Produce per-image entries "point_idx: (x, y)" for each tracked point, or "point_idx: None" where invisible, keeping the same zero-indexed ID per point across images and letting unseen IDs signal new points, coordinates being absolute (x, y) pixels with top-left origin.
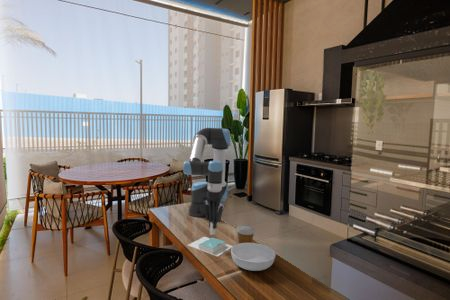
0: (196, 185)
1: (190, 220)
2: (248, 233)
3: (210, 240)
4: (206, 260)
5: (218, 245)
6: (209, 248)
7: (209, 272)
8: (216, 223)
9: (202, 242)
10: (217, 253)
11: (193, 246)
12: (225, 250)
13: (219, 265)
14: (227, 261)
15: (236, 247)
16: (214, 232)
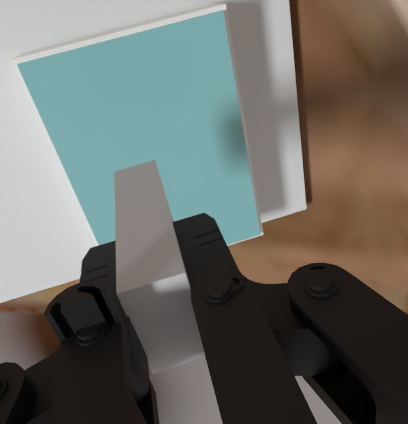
0: None
1: None
2: None
3: (95, 147)
4: (275, 279)
5: (246, 152)
6: (230, 244)
7: None
8: (238, 271)
9: (2, 167)
10: (273, 182)
11: (49, 273)
12: (284, 87)
13: (371, 247)
14: (384, 179)
15: None
16: (161, 182)
